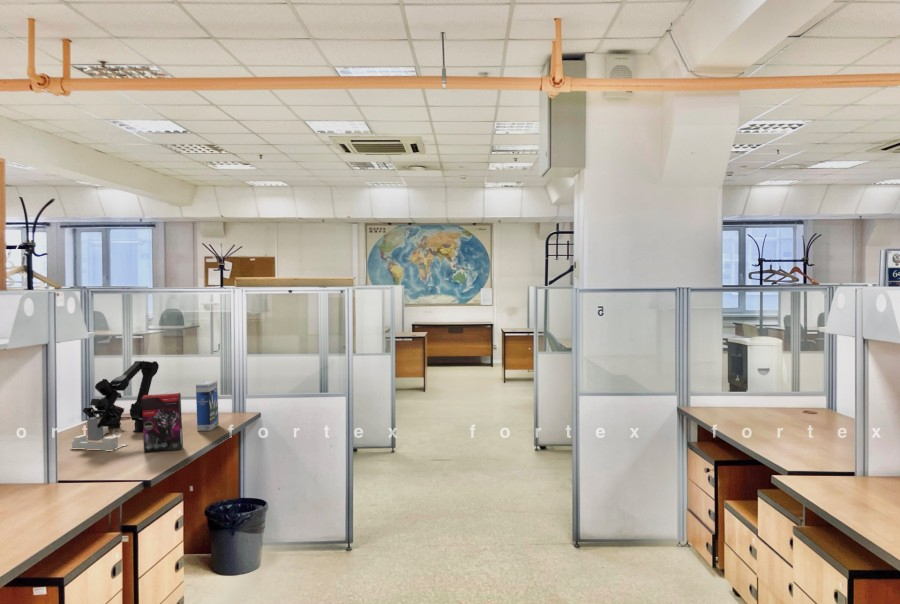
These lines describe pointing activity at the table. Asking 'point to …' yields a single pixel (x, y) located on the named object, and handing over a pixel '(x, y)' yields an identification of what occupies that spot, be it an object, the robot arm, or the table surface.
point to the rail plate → (106, 444)
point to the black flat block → (116, 421)
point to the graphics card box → (162, 422)
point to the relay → (105, 430)
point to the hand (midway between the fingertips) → (93, 427)
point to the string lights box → (207, 405)
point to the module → (94, 429)
